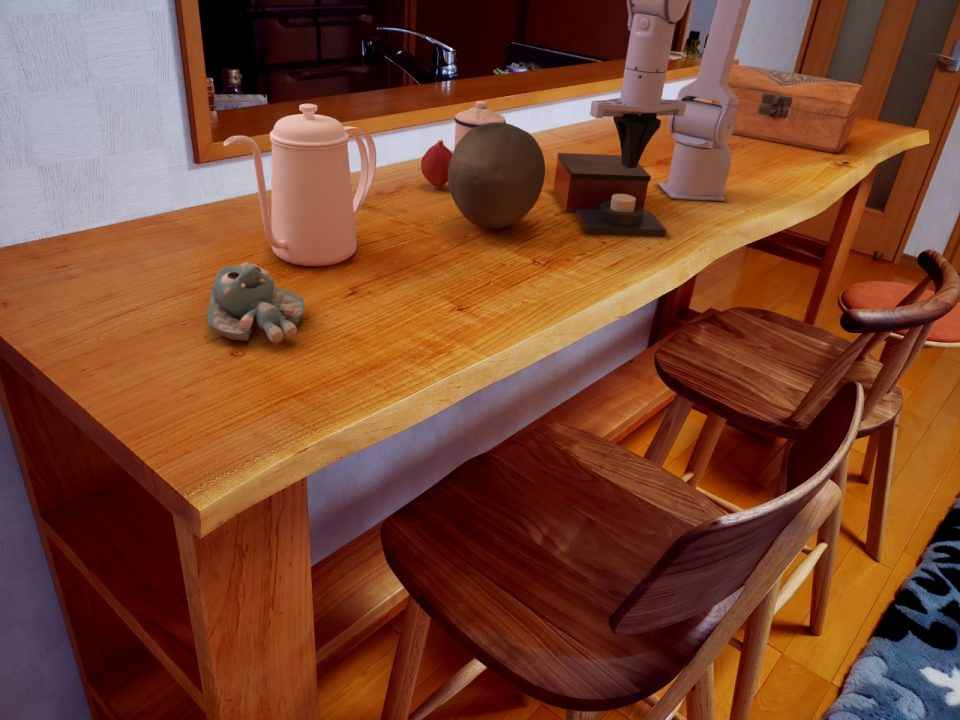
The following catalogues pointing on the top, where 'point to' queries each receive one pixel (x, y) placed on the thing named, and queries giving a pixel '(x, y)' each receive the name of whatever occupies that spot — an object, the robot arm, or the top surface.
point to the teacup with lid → (474, 119)
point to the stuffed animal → (252, 304)
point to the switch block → (619, 222)
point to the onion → (436, 164)
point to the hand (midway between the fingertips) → (628, 166)
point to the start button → (623, 203)
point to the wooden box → (794, 107)
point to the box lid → (600, 167)
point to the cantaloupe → (496, 174)
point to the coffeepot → (312, 187)
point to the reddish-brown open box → (593, 190)
